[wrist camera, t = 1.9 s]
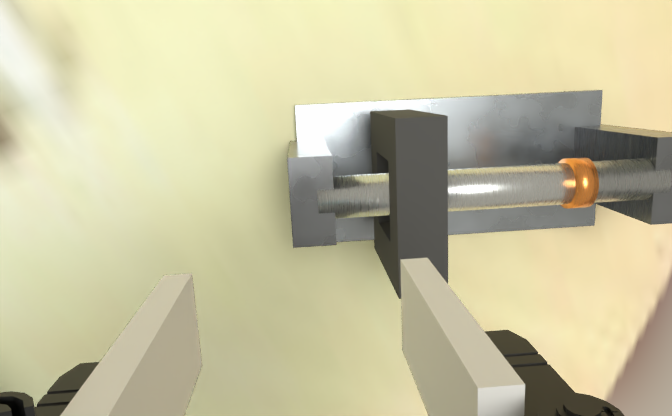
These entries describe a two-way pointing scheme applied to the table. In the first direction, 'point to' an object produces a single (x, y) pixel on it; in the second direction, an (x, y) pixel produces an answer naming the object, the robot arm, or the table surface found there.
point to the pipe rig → (482, 166)
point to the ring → (412, 188)
